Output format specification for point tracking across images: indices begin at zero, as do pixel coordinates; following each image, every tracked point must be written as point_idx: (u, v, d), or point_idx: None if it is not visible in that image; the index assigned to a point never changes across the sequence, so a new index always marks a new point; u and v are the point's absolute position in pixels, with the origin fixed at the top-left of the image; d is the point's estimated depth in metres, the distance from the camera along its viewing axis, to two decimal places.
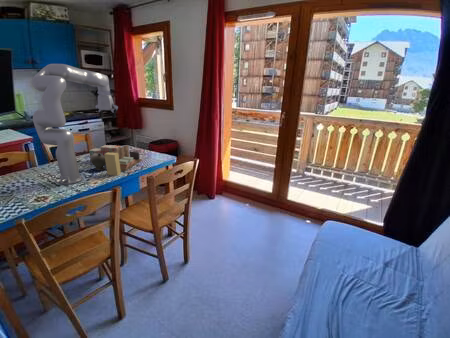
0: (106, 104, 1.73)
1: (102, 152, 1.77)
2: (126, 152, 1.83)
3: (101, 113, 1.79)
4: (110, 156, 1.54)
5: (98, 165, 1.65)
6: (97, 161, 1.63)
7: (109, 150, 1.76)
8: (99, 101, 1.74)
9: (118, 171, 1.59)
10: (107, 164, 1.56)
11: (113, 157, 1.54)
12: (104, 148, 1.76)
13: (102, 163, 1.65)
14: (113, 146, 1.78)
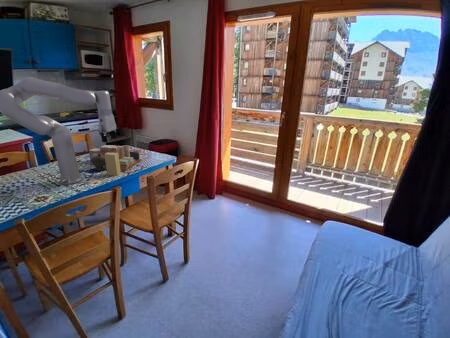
0: (113, 123, 1.50)
1: (102, 152, 1.77)
2: (126, 152, 1.83)
3: None
4: (110, 156, 1.54)
5: (98, 165, 1.65)
6: (97, 161, 1.63)
7: (109, 150, 1.76)
8: (107, 122, 1.45)
9: (118, 171, 1.59)
10: (107, 164, 1.56)
11: (113, 157, 1.54)
12: (104, 148, 1.76)
13: (102, 163, 1.65)
14: (113, 146, 1.78)
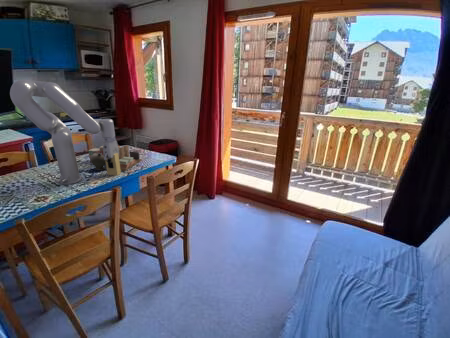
0: (116, 149, 1.56)
1: (101, 152, 1.77)
2: (126, 152, 1.83)
3: None
4: None
5: (98, 165, 1.65)
6: (97, 161, 1.63)
7: None
8: (111, 148, 1.51)
9: (118, 171, 1.59)
10: (107, 164, 1.56)
11: (113, 157, 1.54)
12: None
13: (102, 163, 1.65)
14: None
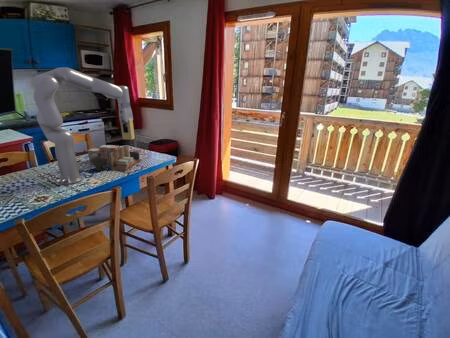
0: (131, 115, 1.70)
1: (101, 152, 1.77)
2: (126, 152, 1.83)
3: None
4: None
5: (98, 165, 1.65)
6: (97, 161, 1.63)
7: (108, 150, 1.76)
8: (126, 113, 1.64)
9: (132, 136, 1.73)
10: (122, 129, 1.70)
11: (128, 122, 1.68)
12: (103, 148, 1.76)
13: (102, 163, 1.65)
14: (112, 146, 1.78)
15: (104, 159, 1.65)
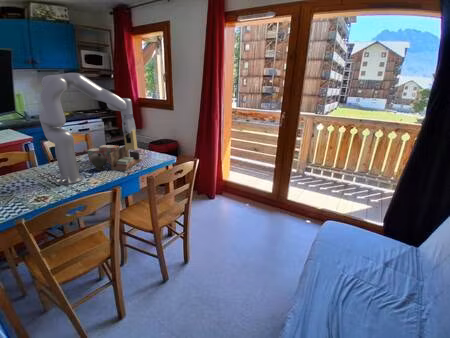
0: (133, 126, 1.75)
1: (100, 152, 1.77)
2: (126, 152, 1.83)
3: None
4: None
5: (98, 165, 1.65)
6: (97, 161, 1.63)
7: (107, 150, 1.76)
8: (129, 125, 1.69)
9: (135, 146, 1.78)
10: (125, 139, 1.75)
11: (131, 133, 1.72)
12: (102, 148, 1.76)
13: (102, 163, 1.65)
14: (111, 146, 1.78)
15: (104, 159, 1.65)
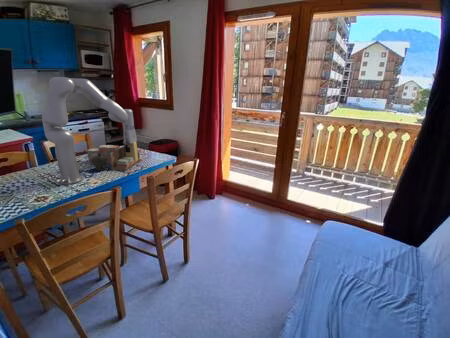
0: (134, 136, 1.77)
1: (100, 152, 1.77)
2: None
3: None
4: None
5: (98, 165, 1.65)
6: (97, 161, 1.63)
7: (107, 150, 1.76)
8: (130, 135, 1.72)
9: (136, 158, 1.81)
10: None
11: (132, 145, 1.75)
12: (102, 148, 1.76)
13: (102, 163, 1.65)
14: (111, 146, 1.78)
15: (104, 159, 1.65)
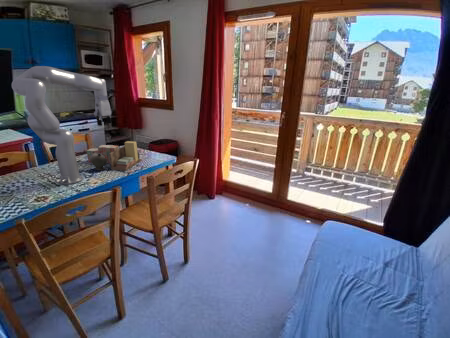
0: (108, 109, 1.66)
1: (100, 152, 1.77)
2: None
3: None
4: (129, 144, 1.75)
5: (98, 165, 1.65)
6: (97, 161, 1.63)
7: (107, 150, 1.76)
8: (103, 107, 1.61)
9: (136, 158, 1.81)
10: (126, 151, 1.78)
11: (132, 145, 1.75)
12: (102, 148, 1.76)
13: (102, 163, 1.65)
14: (111, 146, 1.78)
15: (104, 159, 1.65)
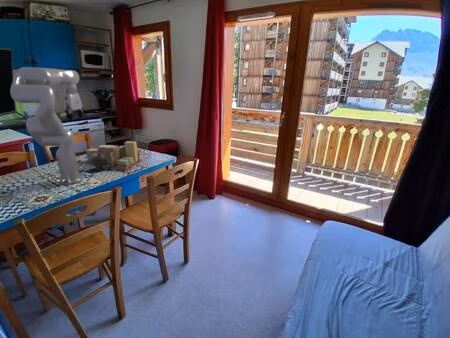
0: (78, 103, 1.60)
1: (99, 152, 1.77)
2: None
3: None
4: (129, 144, 1.75)
5: (98, 165, 1.65)
6: (97, 161, 1.63)
7: (106, 150, 1.76)
8: (72, 100, 1.55)
9: (136, 158, 1.81)
10: (126, 151, 1.78)
11: (132, 145, 1.75)
12: (101, 148, 1.76)
13: (102, 163, 1.65)
14: (110, 146, 1.78)
15: (104, 159, 1.65)
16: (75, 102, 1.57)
